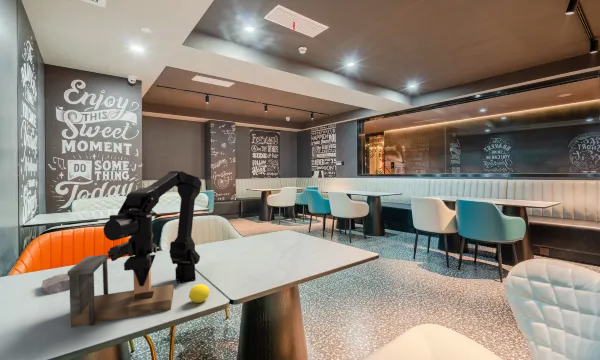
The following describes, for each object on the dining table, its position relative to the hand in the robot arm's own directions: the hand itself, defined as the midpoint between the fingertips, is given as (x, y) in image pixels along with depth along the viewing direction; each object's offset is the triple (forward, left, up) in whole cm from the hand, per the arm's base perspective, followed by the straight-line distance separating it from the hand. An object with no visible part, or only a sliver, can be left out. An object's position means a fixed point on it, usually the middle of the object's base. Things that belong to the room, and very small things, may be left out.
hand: (143, 283), depth 84 cm
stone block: (+30, -28, -8) cm, 42 cm away
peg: (0, 0, -2) cm, 2 cm away
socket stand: (+4, 0, -7) cm, 8 cm away
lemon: (-16, +4, -7) cm, 18 cm away
